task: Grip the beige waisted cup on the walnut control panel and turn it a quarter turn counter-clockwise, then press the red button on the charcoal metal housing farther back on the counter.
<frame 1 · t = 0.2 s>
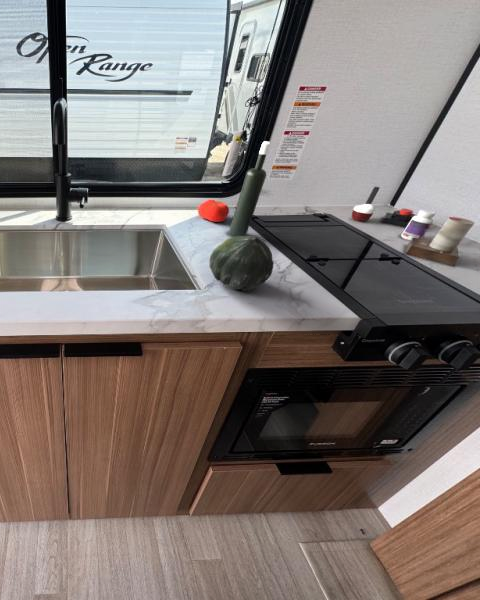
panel: (428, 255, 103), on the worktop
squash: (234, 282, 88), on the worktop
pill bottle: (410, 238, 114), on the worktop
button: (405, 212, 123), point 4 cm above the worktop, slide at 0.1 cm
tomato: (211, 219, 126), on the worktop
button box: (398, 223, 125), on the worktop
beige waisted cup: (451, 234, 98), point 8 cm above the worktop, hinge at 0.0°
cocoa: (358, 220, 128), on the worktop
wine bottle: (236, 235, 114), on the worktop
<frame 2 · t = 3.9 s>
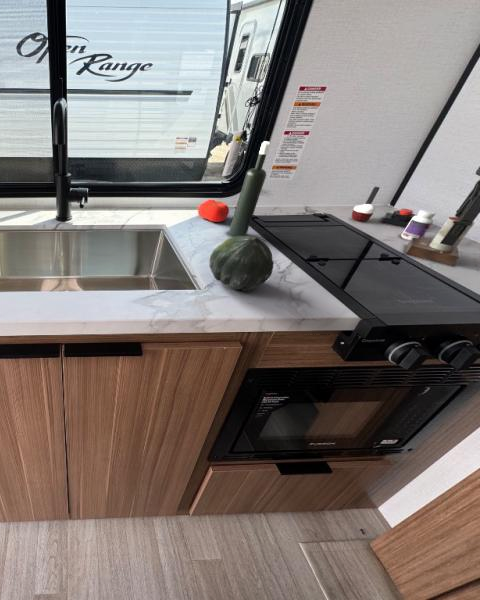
hand: (446, 241, 100), 5 cm above the worktop, tool pointing down, fingers closed on beige waisted cup, 6 cm apart
beige waisted cup: (451, 234, 98), point 8 cm above the worktop, hinge at -0.1°, touching gripper
everything else where it was.
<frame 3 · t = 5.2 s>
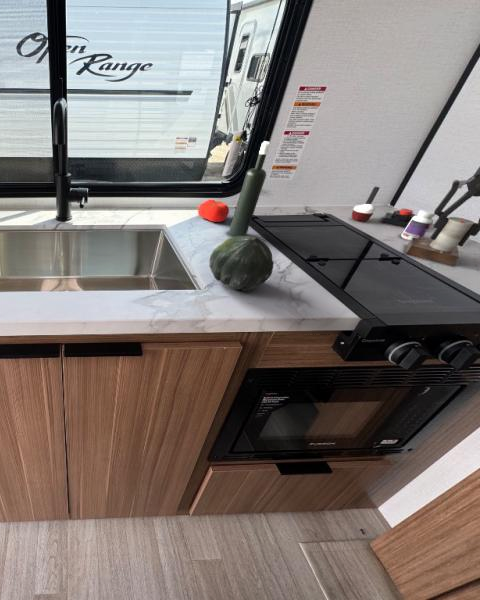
hand: (445, 241, 100), 5 cm above the worktop, tool pointing down, fingers closed on beige waisted cup, 6 cm apart
beige waisted cup: (451, 234, 98), point 8 cm above the worktop, hinge at 89.5°, touching gripper
everything else where it was.
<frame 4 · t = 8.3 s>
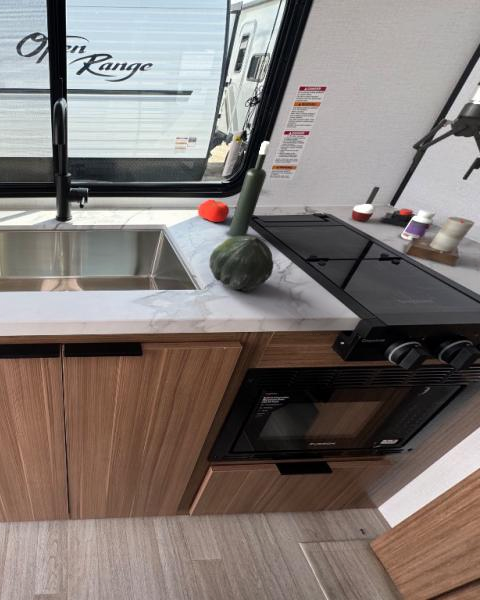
hand: (436, 175, 110), 19 cm above the worktop, tool pointing down, fingers open, 13 cm apart
beige waisted cup: (451, 234, 98), point 8 cm above the worktop, hinge at 89.2°
everything else where it was.
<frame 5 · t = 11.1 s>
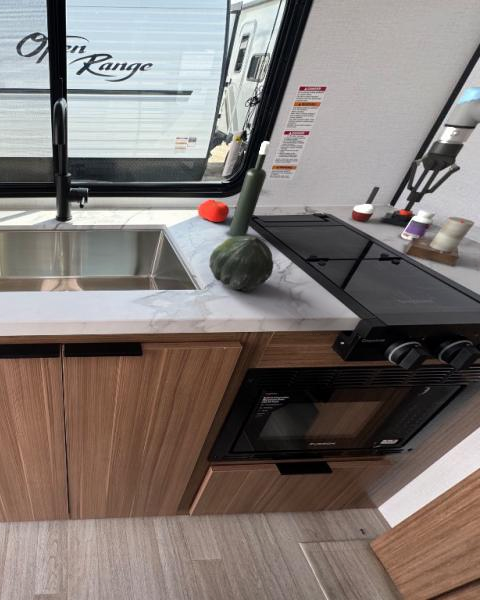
hand: (407, 209, 122), 5 cm above the worktop, tool pointing down, fingers closed
button: (405, 212, 123), point 4 cm above the worktop, slide at -0.1 cm, touching gripper
everything else where it was.
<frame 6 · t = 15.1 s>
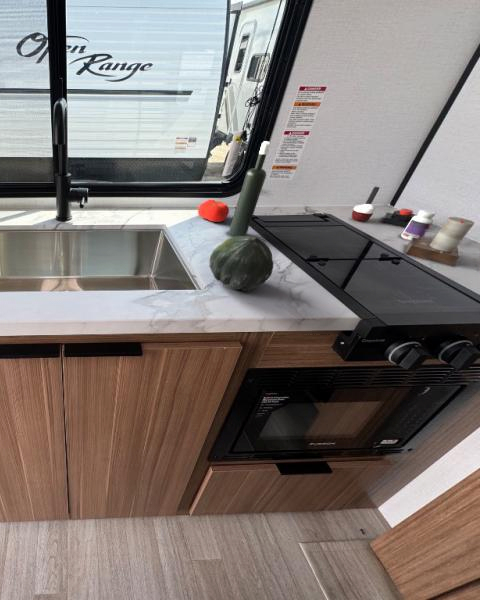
button: (405, 212, 123), point 4 cm above the worktop, slide at 0.1 cm
everything else where it was.
at the end: beige waisted cup at +89° (first picture: +0°); button pushed in 1.0 cm at the most during the clip, back to where it started at the end; button slide at 0.1 cm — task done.
